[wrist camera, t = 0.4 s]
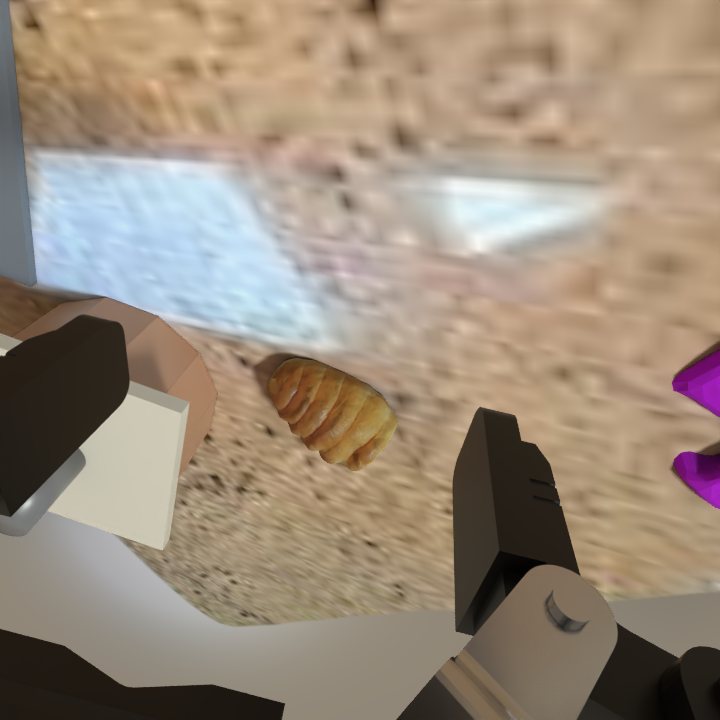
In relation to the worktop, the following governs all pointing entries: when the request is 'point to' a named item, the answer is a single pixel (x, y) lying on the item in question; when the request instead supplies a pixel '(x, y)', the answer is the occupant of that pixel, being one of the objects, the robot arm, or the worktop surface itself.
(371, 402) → the pastry
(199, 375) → the bowl
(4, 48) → the mat
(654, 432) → the worktop surface
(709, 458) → the cloth
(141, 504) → the cover
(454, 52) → the worktop surface
